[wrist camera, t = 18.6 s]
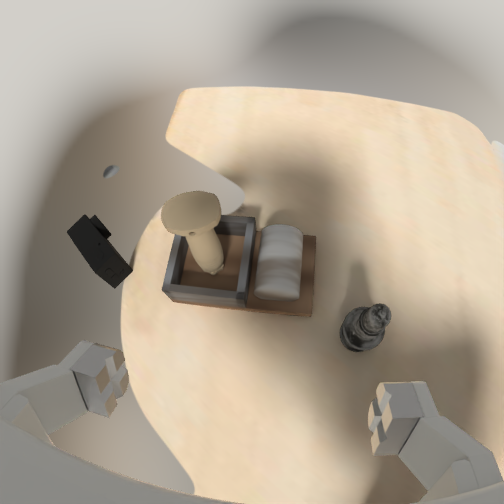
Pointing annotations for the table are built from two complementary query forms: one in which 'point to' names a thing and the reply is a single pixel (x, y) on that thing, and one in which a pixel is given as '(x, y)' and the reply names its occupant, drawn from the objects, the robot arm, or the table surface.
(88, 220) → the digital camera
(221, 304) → the base
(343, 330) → the dark grey chess piece
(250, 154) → the table surface
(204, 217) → the handle
